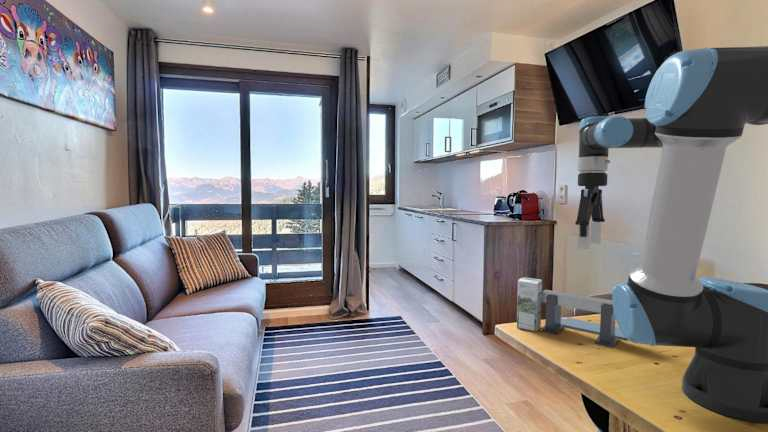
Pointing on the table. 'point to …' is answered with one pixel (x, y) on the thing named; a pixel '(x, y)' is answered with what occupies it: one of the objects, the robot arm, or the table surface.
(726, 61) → the robot arm
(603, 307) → the post near
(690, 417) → the table surface
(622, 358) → the table surface
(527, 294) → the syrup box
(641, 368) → the table surface
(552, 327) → the post far
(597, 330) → the mat
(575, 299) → the rail
